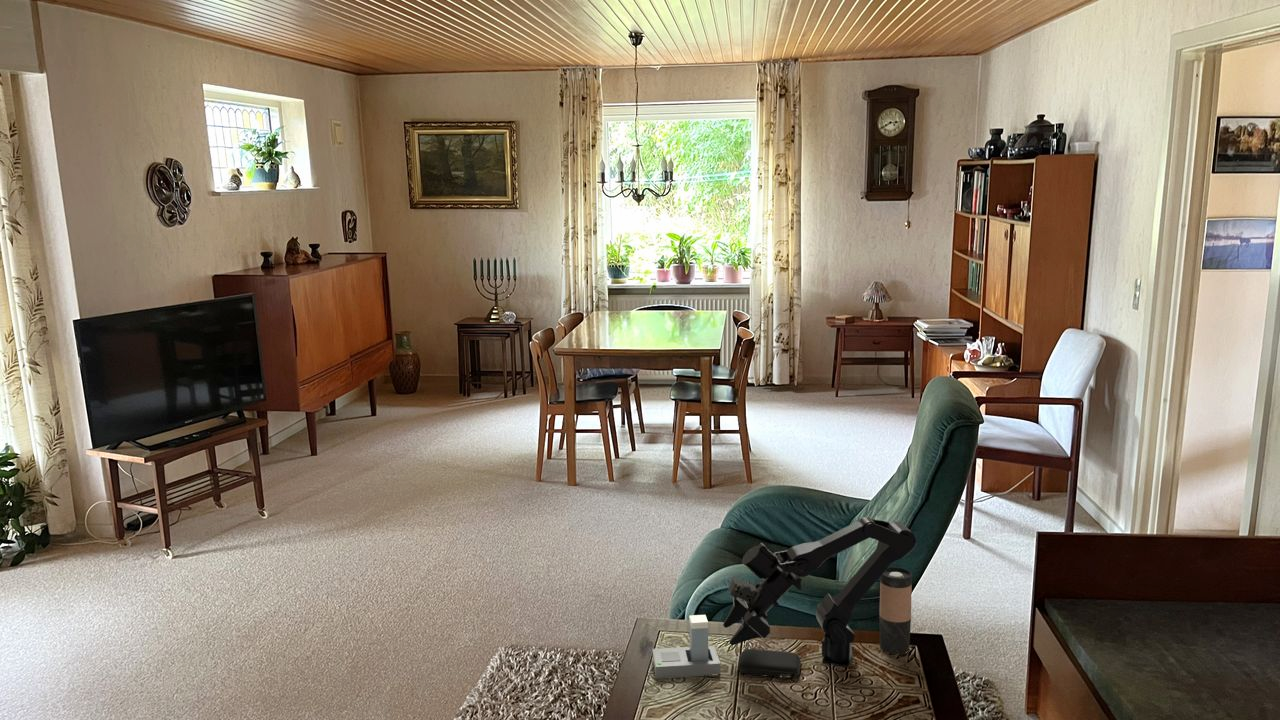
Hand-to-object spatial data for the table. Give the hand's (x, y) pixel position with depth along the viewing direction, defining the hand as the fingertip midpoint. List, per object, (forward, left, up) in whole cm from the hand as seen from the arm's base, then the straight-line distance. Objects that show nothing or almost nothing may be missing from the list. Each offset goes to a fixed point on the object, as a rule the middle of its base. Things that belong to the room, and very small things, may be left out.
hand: (727, 635), depth 214 cm
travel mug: (-36, -24, -8) cm, 44 cm away
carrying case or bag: (-10, -2, -8) cm, 13 cm away
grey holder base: (+9, +5, -8) cm, 13 cm away
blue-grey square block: (+6, +3, -8) cm, 11 cm away
